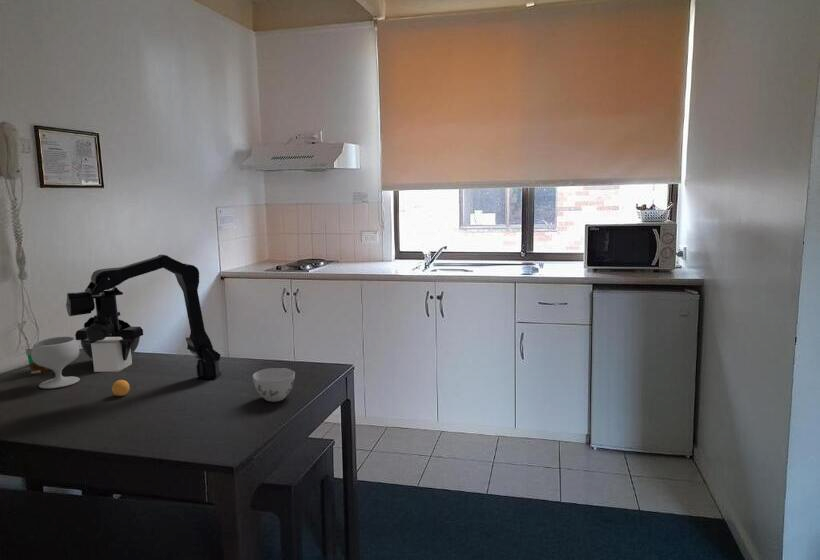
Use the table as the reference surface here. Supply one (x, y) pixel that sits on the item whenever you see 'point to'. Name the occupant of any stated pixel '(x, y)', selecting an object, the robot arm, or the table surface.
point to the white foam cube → (109, 355)
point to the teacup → (274, 383)
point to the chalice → (56, 359)
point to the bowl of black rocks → (124, 325)
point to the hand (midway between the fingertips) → (112, 360)
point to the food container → (34, 367)
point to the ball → (120, 387)
